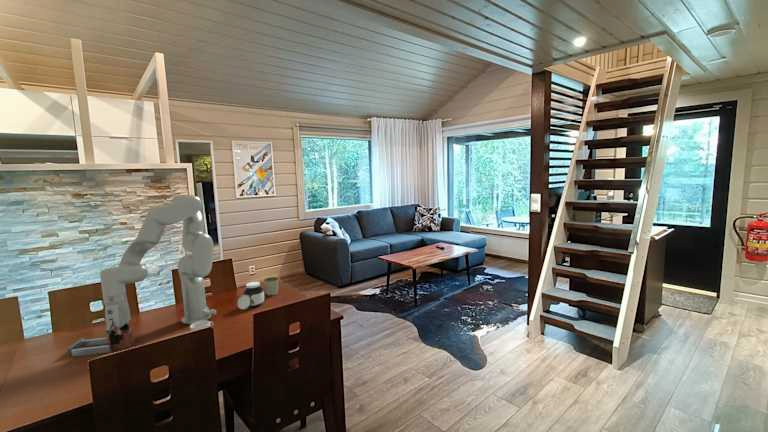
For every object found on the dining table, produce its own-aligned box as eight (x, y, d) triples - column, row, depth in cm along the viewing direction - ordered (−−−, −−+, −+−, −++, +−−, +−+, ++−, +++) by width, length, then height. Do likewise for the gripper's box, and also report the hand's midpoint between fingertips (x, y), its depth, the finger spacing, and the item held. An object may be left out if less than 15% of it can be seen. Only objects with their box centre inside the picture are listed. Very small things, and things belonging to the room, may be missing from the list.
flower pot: (260, 296, 202) (259, 281, 201) (268, 290, 212) (267, 276, 210) (275, 296, 201) (274, 282, 200) (283, 291, 210) (282, 277, 209)
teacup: (198, 341, 149) (197, 329, 148) (187, 338, 152) (185, 326, 152) (219, 331, 158) (218, 320, 157) (207, 328, 161) (206, 317, 161)
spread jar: (266, 301, 194) (264, 280, 192) (259, 309, 182) (258, 287, 181) (243, 302, 193) (242, 281, 192) (236, 310, 182) (234, 288, 180)
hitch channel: (121, 341, 151) (120, 333, 151) (109, 352, 142) (108, 343, 142) (83, 346, 148) (81, 338, 148) (68, 357, 139) (67, 348, 139)
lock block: (133, 342, 151) (132, 328, 150) (128, 347, 146) (126, 333, 145) (115, 344, 149) (113, 330, 148) (108, 350, 144) (106, 336, 144)
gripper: (114, 304, 137) (120, 348, 139) (135, 290, 154) (139, 329, 156) (92, 307, 136) (98, 350, 138) (115, 292, 152) (120, 331, 155)
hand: (120, 339), depth 147 cm, fingers open, 7 cm apart
